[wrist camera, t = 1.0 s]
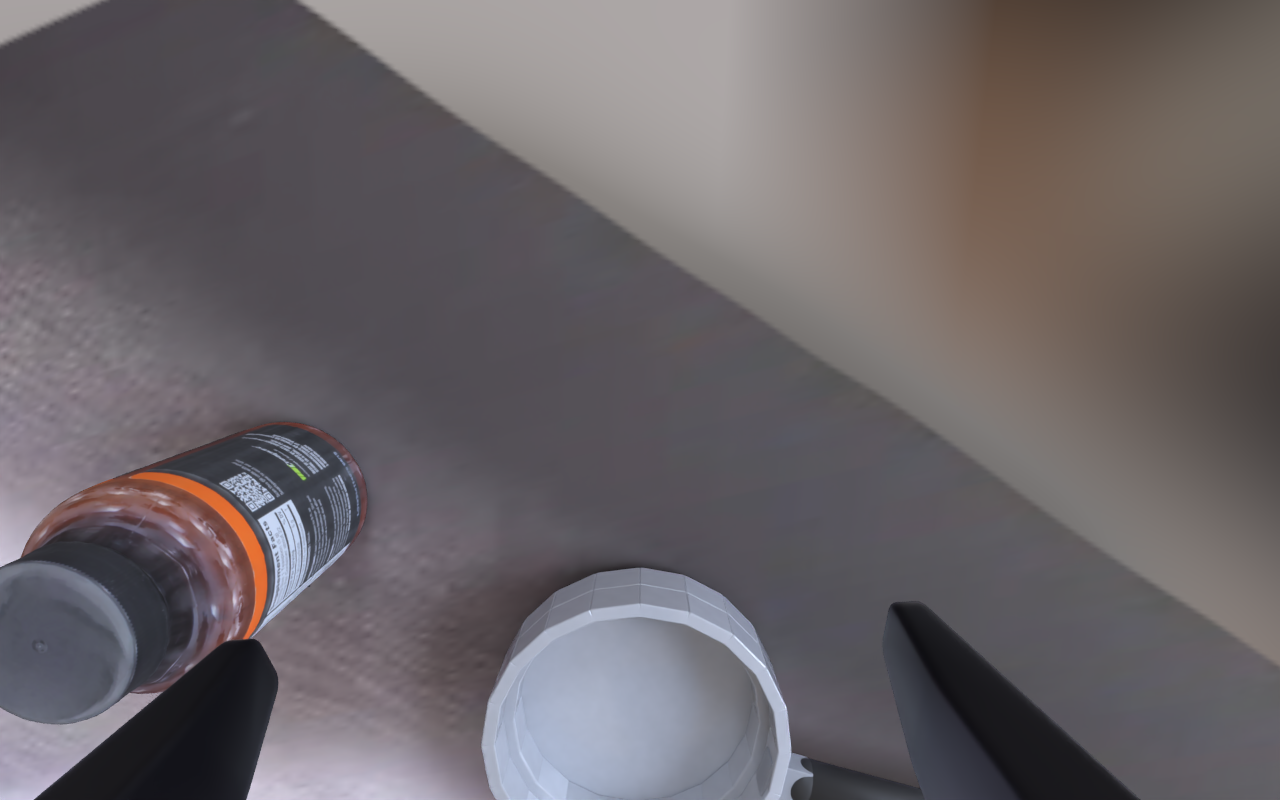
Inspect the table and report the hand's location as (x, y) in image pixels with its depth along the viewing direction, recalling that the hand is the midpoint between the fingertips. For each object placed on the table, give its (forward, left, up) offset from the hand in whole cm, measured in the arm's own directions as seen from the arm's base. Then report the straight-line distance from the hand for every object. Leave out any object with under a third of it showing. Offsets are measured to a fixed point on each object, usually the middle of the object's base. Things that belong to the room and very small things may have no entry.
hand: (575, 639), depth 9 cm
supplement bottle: (-11, +7, -16) cm, 21 cm away
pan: (-7, -9, -16) cm, 20 cm away
